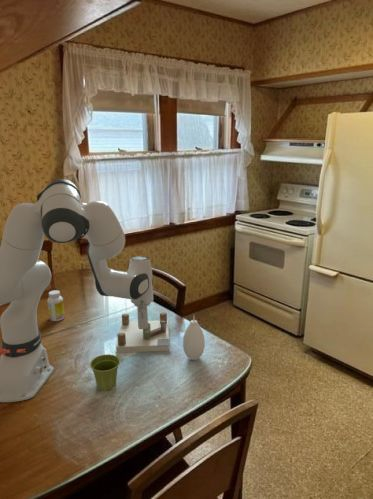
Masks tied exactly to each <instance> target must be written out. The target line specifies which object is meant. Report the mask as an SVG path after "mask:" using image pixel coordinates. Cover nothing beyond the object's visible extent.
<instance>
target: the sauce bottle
mask: <svg viewBox="0 0 373 499" xmlns="http://www.w3.org/2000/svg"><path fill="white" fill-rule="evenodd" d="M182 339H183V340H182V347H183V352H184V354H185V355H186V357H187V358H188V359H189V360H191V361H196V360H198V359H200V358H201V357H202V355H203V353H204V351H205V346H206V345H205V344H206V343H205V335H204V333H203V330H202V327H201V326H200V324H199V323H198V320H196V319H195V315H193V319H191V320H190V322H189V324H188V325H187V327H186V329H185V331H184V334H183V338H182Z"/></svg>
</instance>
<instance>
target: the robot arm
mask: <svg viewBox="0 0 373 499" xmlns="http://www.w3.org/2000/svg"><path fill="white" fill-rule="evenodd" d="M2 233H3V234H2V238H1V241H0V242H1V243H0V306H3V305H6V304H9V305H8V306H7V308H5V310H4V311H3V312H2V313H1V315H0V329H1V336H2V339H1V343H0V344H1V345H0V403H14V402H16V403H17V402H20V401H21V402H22V401H25V400H29V399H31V398H34V397H35V396H36V395H37V394H38V392H39V391H40V389H41V388H42V387H43V386H44V384H45V383H46V382H47V380H48V379H49V378H50V377H51V375H52V374H53V373H54V371H55V367H54V365H53V366H52V365H51V364H50V360H49V356H48V352H47V348H45V347H44V345H42V335H41V333H40V332H41V331H40V330H39V327H38V316H37V315H38V314H37V313H38V312H37V311H38V308H39V307H38V306H39V303H40V300H41V297H42V295H43V293H44V292H45V290H46V289H47V288H48V286H49V285H50V283H51V281H52V272H51V269H50V267H49V266H48V265H47V264H46V262H44V261H43V260H39V258H40V255H41V251H42V248H43V244H44V240H45V237H46V238H47V239H48V240H50V241H51V242H53V243H56V244H67V243H71V242H74V241H76V240H79V239H82V238H84V237H86V239H87V242H88V244H87V247H86V255H87V260H88V262H89V265H90V270H91V272H92V274H93V277H94V284H95V289H96V292H98V294H99V295H100V296H102V297H113V298H120V299H126V300H130V302H131V303H132V304H133V305H134V306H135V307H137V309H136V310H137V321H138V328H139V329H147V328H148V321H149V317H148V316H149V315H148V306H150V305H151V303H152V302H153V301H154V286H153V284H152V281H153V268H152V264H151V260H150V259H149V258H148V257H145V256H133V257H130V258H129V261H128V263H129V265H128V269H127V270H126V271H123V270H116V269H113V268H110V267H109V266H108V262H107V260H111V259H113V258H115V257H116V256H118V255H119V254H120V253H121V252H122V251H123V249H124V247H125V245H126V236H125V232H124V230H123V227H122V225H121V223H120V221H119V219H118V217H117V216H116V214H115V212H114V211H113V209H112V208H111V207H110V206H109V204H108V203H106V202H104V201H103V200H102V201H101V200H93V201H90V202H88V203H85V202H82V196H81V192H80V190H79V188H78V187H77V185H76V184H75V183H73V181H72V180H68V179H65V178H58V179H55V180H53V181H51V182H50V183H49V184H47V185H46V186H45V188H43V190H42V191H40V192H39V193H38V194H37V196H36V202H34V203H30V202H21V203H18V204H16V205H14V207H13V208H12V209H11V210H10V213H9V215H8V217H7V219H6V222H5V224H4V229H3V232H2Z"/></svg>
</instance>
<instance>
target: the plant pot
mask: <svg viewBox="0 0 373 499" xmlns="http://www.w3.org/2000/svg"><path fill="white" fill-rule="evenodd" d="M120 362H121V360H120V358H119V357H118V356H117V355H114V354H102V355H101V354H100V355H97V356H96V357H94V358H93V359H91V361H90V363H89V366H90V368H91V369H92V372H93V375H94V378H95V384H96V387H97V389H98V390H100V391H110V390H113V389H114V388H115V387H116V385H117V379H118V378H117V376H118V368H119V366H120Z"/></svg>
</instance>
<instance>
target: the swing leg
mask: <svg viewBox="0 0 373 499" xmlns="http://www.w3.org/2000/svg"><path fill="white" fill-rule="evenodd" d="M163 332H166V321H161V327H160V328H157V329H154V330H152V331H151V330H150V323H148V328H147V329H143V338H144V339H150V338H151V337H152V336H155V335H158V334H160V333H163Z"/></svg>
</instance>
